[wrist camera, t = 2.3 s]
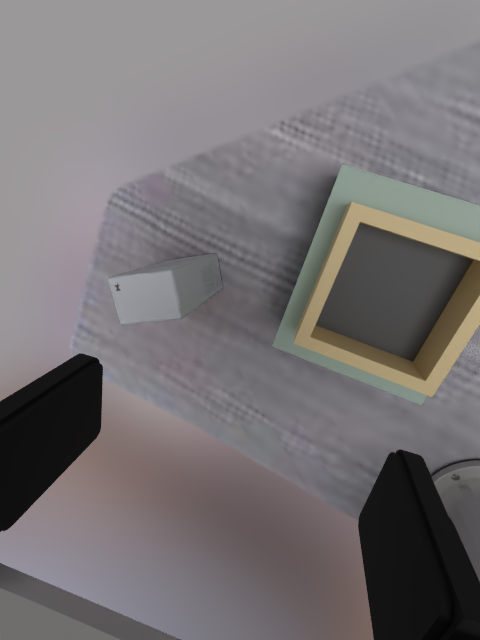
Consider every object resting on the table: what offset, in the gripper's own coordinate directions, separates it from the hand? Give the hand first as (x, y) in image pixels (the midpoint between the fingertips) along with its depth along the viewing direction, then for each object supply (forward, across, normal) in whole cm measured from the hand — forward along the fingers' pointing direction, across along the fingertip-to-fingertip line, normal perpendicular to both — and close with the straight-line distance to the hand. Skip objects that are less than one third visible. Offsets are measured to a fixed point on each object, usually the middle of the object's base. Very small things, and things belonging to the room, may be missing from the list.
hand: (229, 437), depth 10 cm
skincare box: (+26, +10, +2) cm, 28 cm away
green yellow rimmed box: (+26, -8, -2) cm, 27 cm away
